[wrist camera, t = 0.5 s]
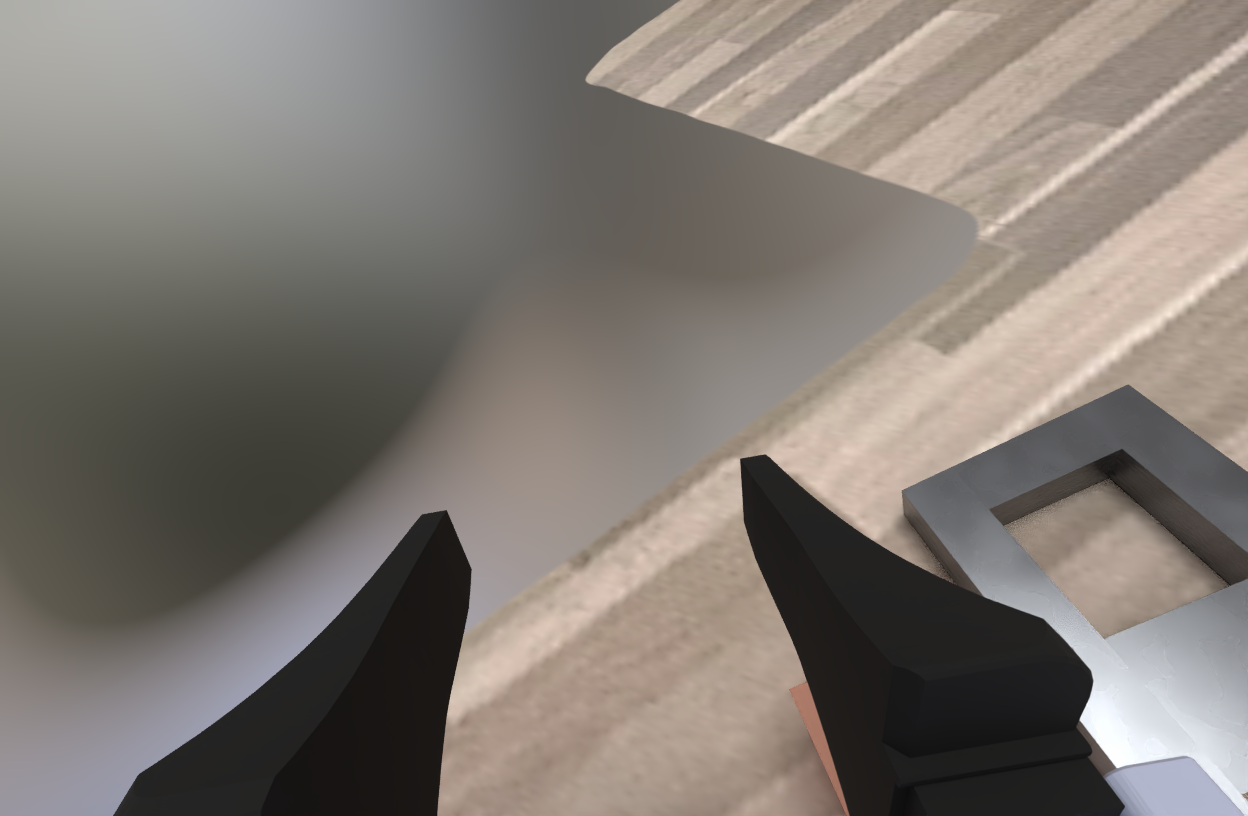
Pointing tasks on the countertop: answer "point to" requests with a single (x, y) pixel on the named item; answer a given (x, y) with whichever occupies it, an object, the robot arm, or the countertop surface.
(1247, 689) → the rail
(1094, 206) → the countertop surface
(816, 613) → the robot arm
